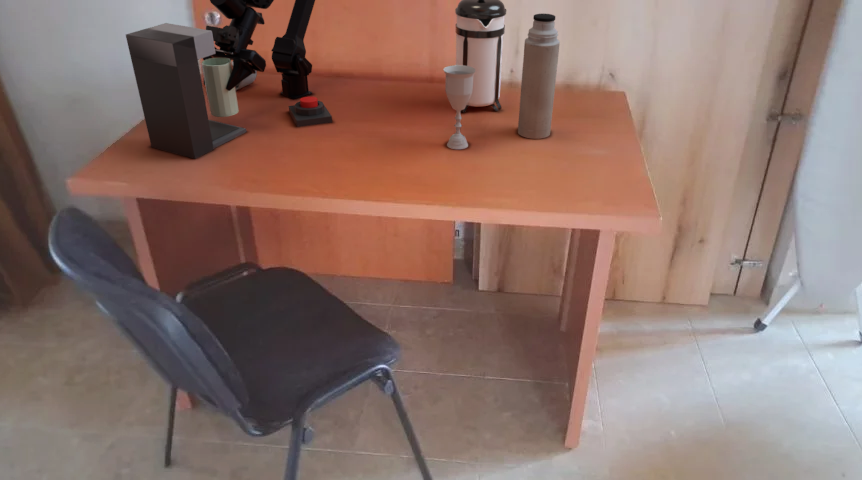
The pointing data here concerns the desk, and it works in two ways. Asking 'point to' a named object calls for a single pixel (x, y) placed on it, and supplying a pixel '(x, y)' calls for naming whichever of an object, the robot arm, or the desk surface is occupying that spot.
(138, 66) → the coffee maker
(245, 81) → the ceramic mug
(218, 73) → the cup
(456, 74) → the chalice
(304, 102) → the button
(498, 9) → the coffee press
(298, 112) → the button pad
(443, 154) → the desk surface
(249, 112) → the desk surface
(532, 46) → the thermos bottle
